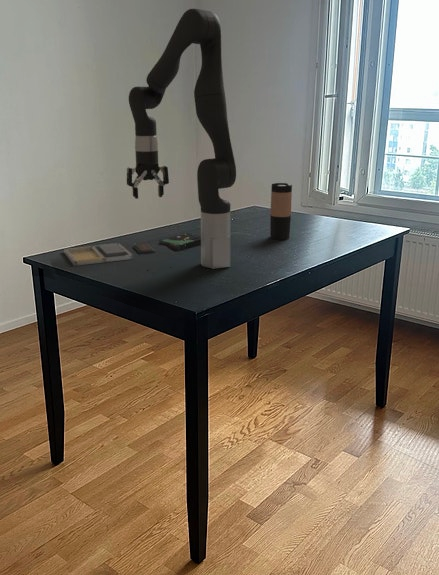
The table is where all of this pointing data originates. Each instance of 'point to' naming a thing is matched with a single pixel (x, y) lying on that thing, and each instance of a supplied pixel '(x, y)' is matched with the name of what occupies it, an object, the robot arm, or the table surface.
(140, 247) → the usb drive
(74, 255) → the tray
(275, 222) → the travel mug
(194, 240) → the disk drive
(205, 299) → the table surface
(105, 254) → the blank panel
